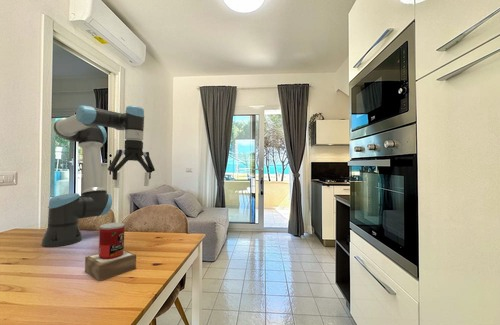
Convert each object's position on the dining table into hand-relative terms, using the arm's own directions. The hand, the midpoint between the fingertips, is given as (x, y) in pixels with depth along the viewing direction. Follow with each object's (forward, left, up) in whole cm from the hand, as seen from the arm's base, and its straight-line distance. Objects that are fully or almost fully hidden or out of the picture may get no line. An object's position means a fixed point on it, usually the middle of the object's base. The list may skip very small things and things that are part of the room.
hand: (132, 186), depth 102 cm
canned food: (+14, -14, -24) cm, 31 cm away
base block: (+14, -14, -29) cm, 35 cm away
